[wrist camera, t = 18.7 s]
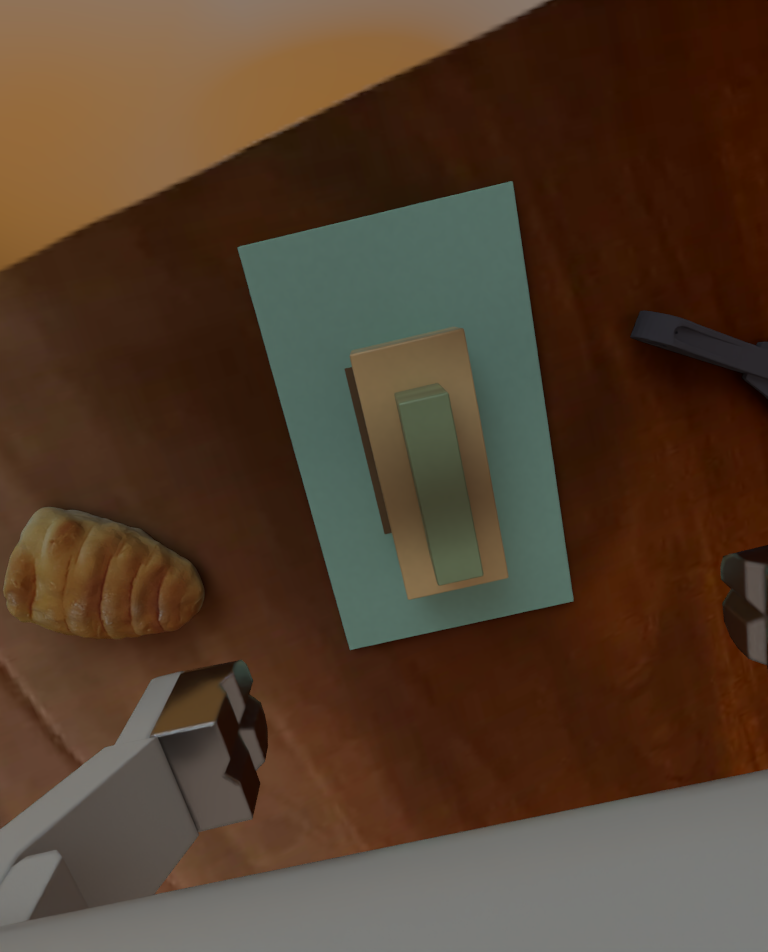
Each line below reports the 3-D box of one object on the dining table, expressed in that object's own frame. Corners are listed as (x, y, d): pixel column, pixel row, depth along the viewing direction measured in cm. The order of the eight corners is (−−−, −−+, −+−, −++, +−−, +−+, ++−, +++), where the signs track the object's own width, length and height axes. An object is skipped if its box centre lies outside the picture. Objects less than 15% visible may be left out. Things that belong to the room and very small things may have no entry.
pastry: (219, 533, 31) (199, 564, 27) (199, 640, 33) (178, 682, 29) (40, 495, 30) (-5, 522, 26) (30, 607, 32) (-13, 646, 28)
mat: (239, 248, 27) (236, 247, 26) (509, 183, 27) (513, 180, 26) (349, 644, 33) (349, 651, 33) (570, 596, 33) (574, 602, 32)
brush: (350, 348, 28) (347, 360, 21) (451, 325, 28) (478, 330, 21) (402, 567, 31) (413, 635, 25) (492, 547, 31) (526, 610, 25)
